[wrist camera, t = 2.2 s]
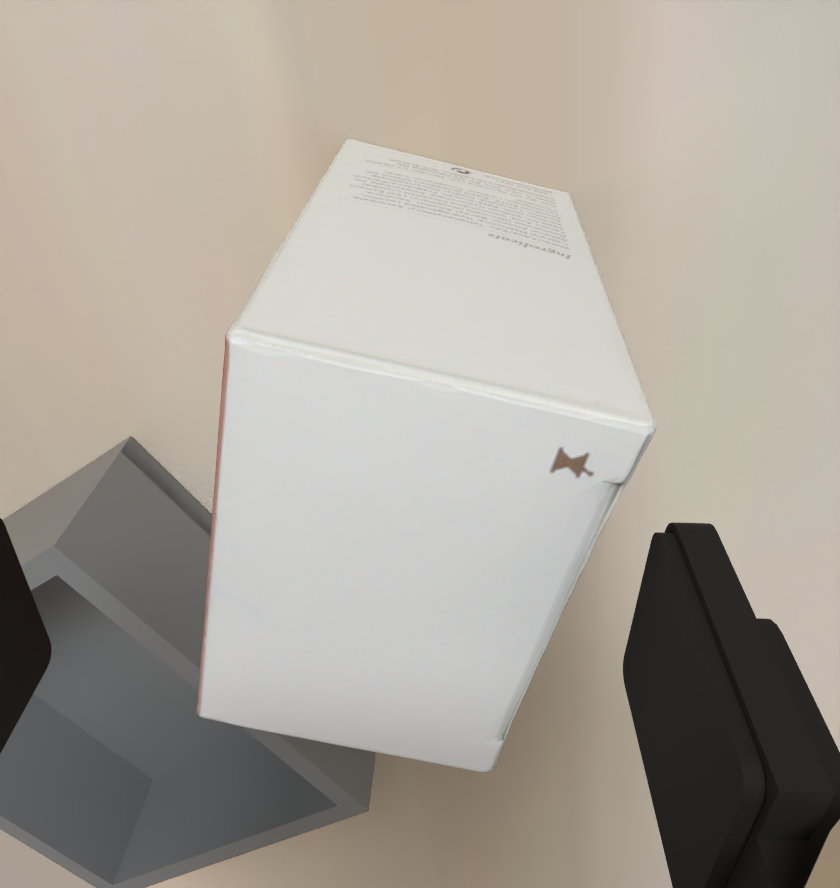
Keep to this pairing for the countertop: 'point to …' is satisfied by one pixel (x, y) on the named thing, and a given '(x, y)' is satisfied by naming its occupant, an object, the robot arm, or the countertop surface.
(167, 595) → the crate
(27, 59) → the countertop surface
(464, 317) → the small box
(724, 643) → the robot arm
